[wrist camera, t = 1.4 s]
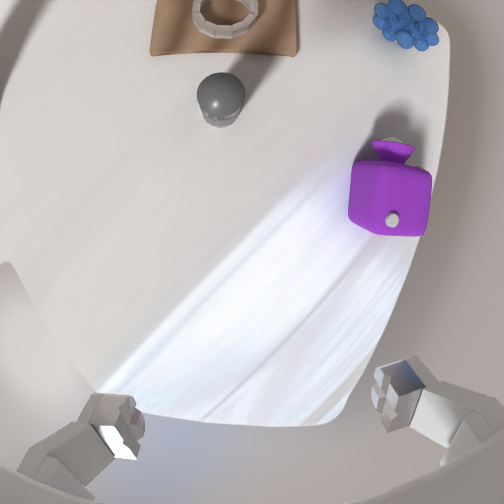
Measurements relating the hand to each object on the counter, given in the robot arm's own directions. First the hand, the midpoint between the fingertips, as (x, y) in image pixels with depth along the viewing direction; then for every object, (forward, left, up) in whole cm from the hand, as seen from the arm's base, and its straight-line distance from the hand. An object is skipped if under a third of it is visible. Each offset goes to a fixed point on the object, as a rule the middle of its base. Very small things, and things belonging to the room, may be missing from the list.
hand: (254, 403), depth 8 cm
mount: (-1, +29, -33) cm, 44 cm away
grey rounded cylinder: (-1, +14, -33) cm, 36 cm away
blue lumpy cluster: (+25, +30, -33) cm, 51 cm away
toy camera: (+22, +5, -33) cm, 40 cm away
